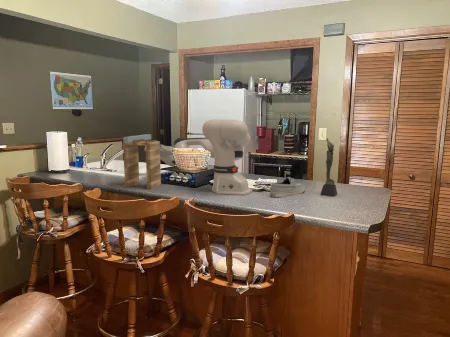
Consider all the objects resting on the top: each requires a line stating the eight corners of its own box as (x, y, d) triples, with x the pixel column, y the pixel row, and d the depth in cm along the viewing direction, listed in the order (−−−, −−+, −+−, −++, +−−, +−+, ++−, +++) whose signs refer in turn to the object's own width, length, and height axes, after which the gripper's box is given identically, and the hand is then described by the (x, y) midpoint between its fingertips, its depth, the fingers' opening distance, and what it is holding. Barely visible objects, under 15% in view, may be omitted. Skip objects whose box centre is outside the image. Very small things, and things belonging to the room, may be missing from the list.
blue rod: (151, 139, 220) (151, 134, 219) (128, 142, 198) (127, 137, 198) (147, 139, 221) (146, 134, 220) (123, 142, 200) (123, 137, 199)
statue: (334, 196, 187) (337, 139, 181) (320, 195, 190) (322, 138, 185) (337, 193, 193) (340, 138, 188) (323, 192, 196) (326, 137, 191)
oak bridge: (160, 185, 212) (159, 139, 207) (151, 189, 203) (149, 141, 198) (135, 183, 218) (133, 138, 213) (125, 186, 209) (122, 140, 204)
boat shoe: (308, 191, 199) (309, 175, 197) (282, 199, 181) (282, 182, 180) (294, 188, 205) (294, 173, 204) (267, 196, 188) (267, 179, 186)
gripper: (177, 158, 234) (167, 150, 221) (150, 157, 241) (139, 148, 229) (179, 150, 236) (169, 141, 223) (152, 148, 243) (141, 139, 231)
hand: (154, 145), depth 226 cm, fingers open, 8 cm apart
